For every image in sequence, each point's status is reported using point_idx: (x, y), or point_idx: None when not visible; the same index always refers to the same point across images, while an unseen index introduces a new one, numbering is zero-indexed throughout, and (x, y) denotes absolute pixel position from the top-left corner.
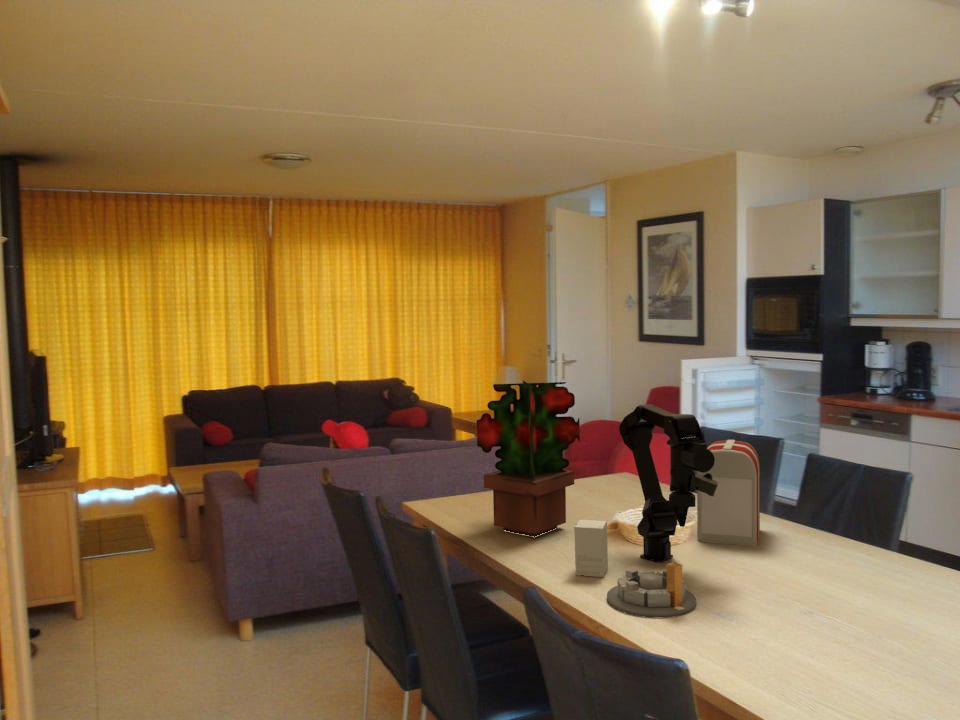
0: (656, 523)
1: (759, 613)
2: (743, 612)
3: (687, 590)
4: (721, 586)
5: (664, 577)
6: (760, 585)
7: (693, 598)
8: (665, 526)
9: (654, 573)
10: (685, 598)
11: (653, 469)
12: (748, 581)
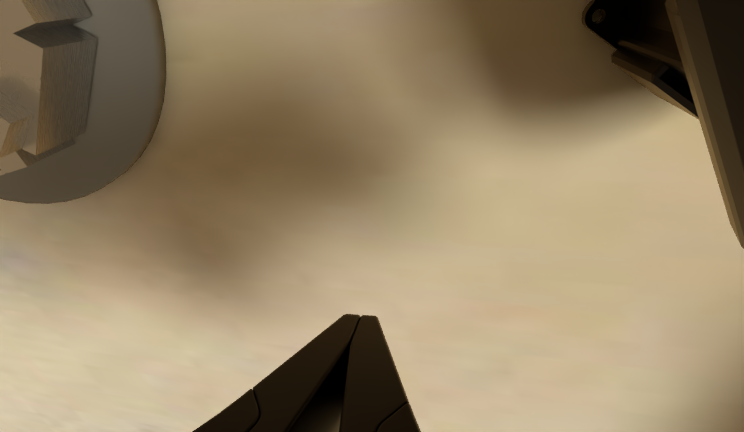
0: (694, 35)
1: (85, 350)
2: (67, 317)
3: (111, 175)
4: (272, 287)
5: None
6: None
7: (39, 194)
8: (705, 136)
9: (8, 28)
10: None
11: None
12: None
